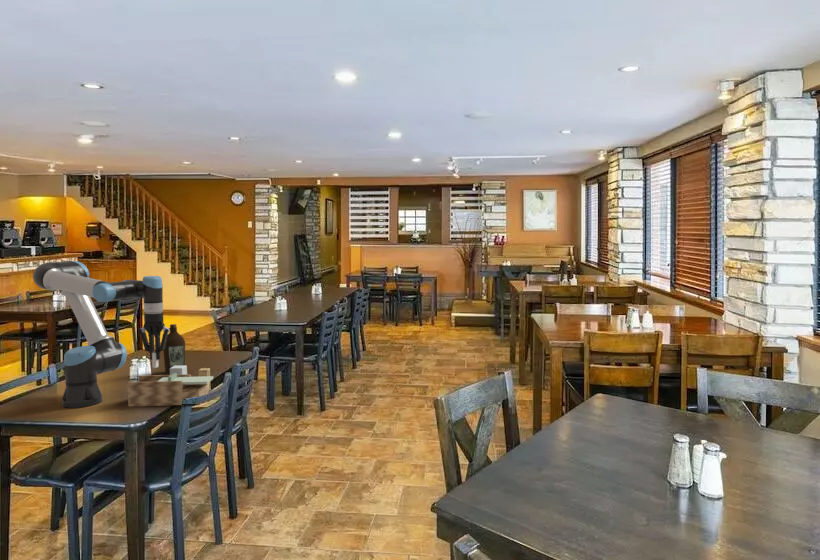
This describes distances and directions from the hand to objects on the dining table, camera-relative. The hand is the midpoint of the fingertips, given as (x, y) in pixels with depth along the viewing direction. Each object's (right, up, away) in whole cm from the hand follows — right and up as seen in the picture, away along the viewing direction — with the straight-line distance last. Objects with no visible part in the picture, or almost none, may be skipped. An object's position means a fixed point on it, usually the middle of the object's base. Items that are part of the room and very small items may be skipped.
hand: (155, 367), depth 250 cm
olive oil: (-12, -11, +50) cm, 52 cm away
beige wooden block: (+16, -13, +14) cm, 25 cm away
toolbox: (+6, -14, -1) cm, 16 cm away
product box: (-3, -12, +32) cm, 34 cm away
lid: (+13, -6, -2) cm, 14 cm away
